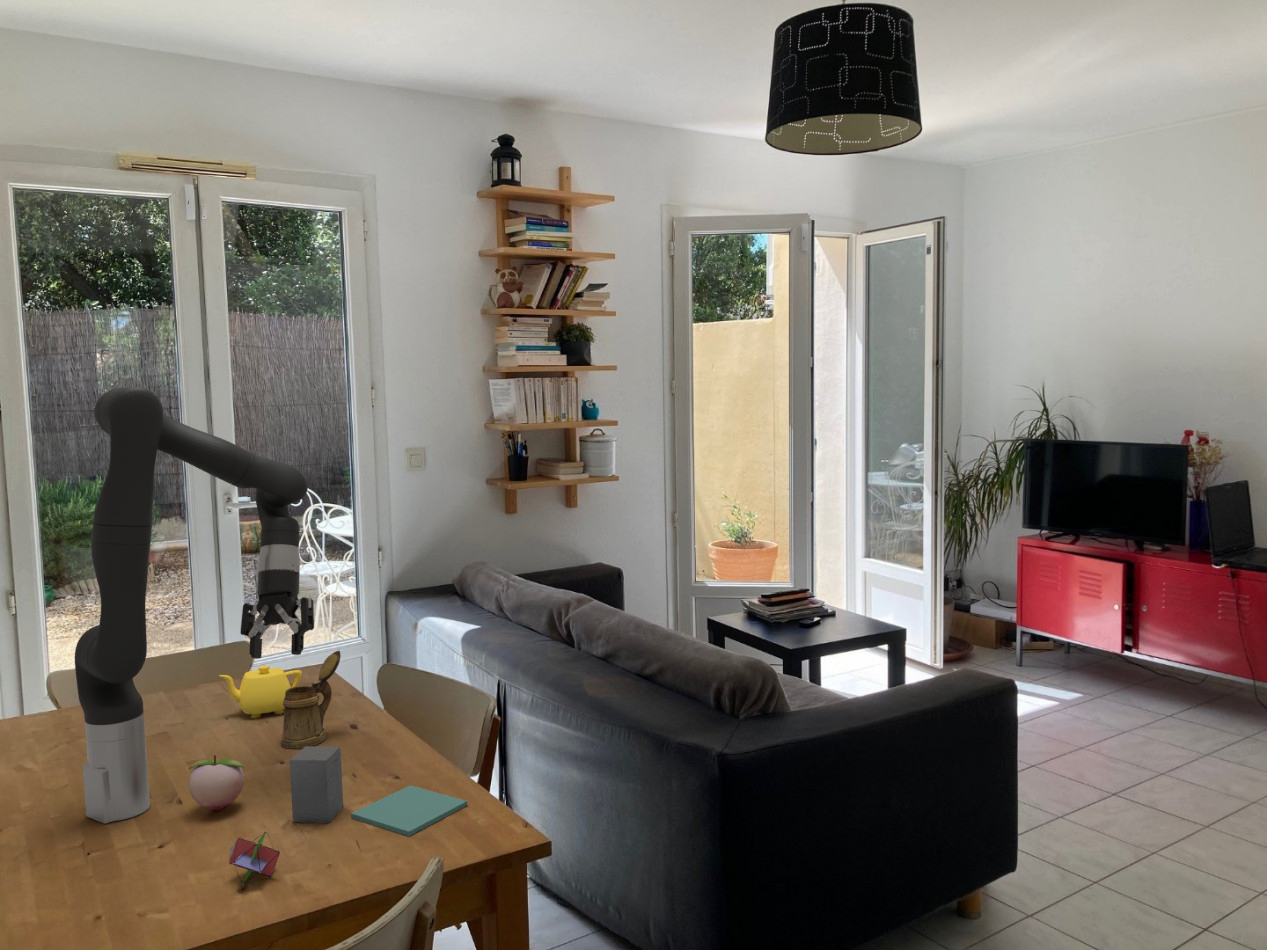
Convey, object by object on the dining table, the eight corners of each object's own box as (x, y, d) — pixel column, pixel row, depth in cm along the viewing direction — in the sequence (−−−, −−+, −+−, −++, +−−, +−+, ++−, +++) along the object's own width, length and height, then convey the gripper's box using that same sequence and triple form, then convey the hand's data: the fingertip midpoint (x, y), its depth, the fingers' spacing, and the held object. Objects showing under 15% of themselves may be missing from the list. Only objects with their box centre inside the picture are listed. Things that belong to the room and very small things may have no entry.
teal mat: (409, 836, 164) (408, 831, 164) (351, 817, 172) (350, 813, 172) (467, 805, 176) (467, 801, 176) (410, 789, 183) (410, 785, 183)
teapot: (223, 725, 221) (220, 678, 220) (219, 711, 231) (216, 666, 230) (307, 712, 229) (304, 667, 228) (300, 699, 239) (298, 655, 238)
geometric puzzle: (297, 852, 155) (263, 813, 154) (283, 873, 148) (247, 833, 147) (261, 880, 155) (227, 842, 154) (245, 903, 148) (210, 862, 147)
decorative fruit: (185, 824, 171) (181, 767, 170) (193, 805, 179) (189, 751, 178) (243, 816, 173) (240, 760, 172) (248, 798, 181) (245, 744, 180)
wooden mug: (352, 736, 212) (348, 654, 211) (289, 752, 204) (284, 666, 202) (336, 726, 219) (332, 646, 218) (274, 740, 211) (270, 657, 209)
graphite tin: (329, 822, 170) (326, 760, 169) (293, 822, 170) (289, 760, 169) (343, 807, 176) (340, 746, 175) (308, 806, 177) (305, 746, 176)
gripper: (234, 572, 189) (230, 658, 185) (300, 564, 186) (298, 651, 182) (258, 577, 196) (255, 660, 192) (322, 570, 193) (321, 654, 189)
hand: (276, 656), depth 187 cm, fingers open, 8 cm apart
